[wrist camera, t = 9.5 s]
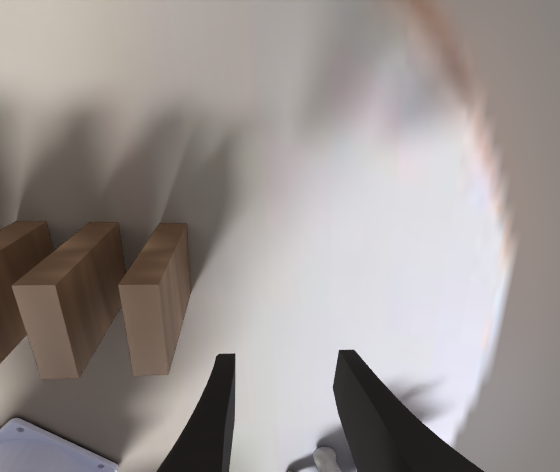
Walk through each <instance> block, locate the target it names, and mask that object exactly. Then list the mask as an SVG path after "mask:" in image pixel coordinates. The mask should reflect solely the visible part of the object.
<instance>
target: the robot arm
mask: <svg viewBox="0 0 560 472" xmlns="http://www.w3.org/2000/svg"><path fill="white" fill-rule="evenodd" d="M333 391H334V396H335V400H336V405H337V409H338V414H339V417H340V420H341V423H342V426H343V429H344V432H345V435H346V438H347V441H348V444H349V447H350V450H351V453H352V456H353V459H354V462H355V465H356V468H357V471H358V472H484V471H483V470H481V469H480V468H478V467H477V466H476V465H474V464H473V463H471V462H470V461H469V460H467V459H466V458H465V457H463V456H462V455H461V454H460V453H458V452H457V451H456V450H454V449H453V448H452V447H450V446H449V445H448V444H447V443H445V442H444V441H443V440H442V439H440V438H439V437H438V436H437V435H436V434H435V433H433V432H432V431H431V430H430V429H429V428H428V427H426V426H425V425H424V424H423V423H422V422H421V421H420V420H419V419H418V418H416V417H415V416H414V415H413V414H412V413H411V412H410V411H409V410H408V409H407V408H406V407H405V406H404V405H403V404H402V403H401V402H400V401H399V400H398V399H397V398H396V397H395V396H394V395H393V393H392V392H391V391H390V390H389V389H388V388H387V387H386V386H385V385H384V384H383V383H382V382H381V380H380V379H379V378H378V377H377V376H376V375H375V374H374V372H373V371H372V370H371V369H370V368H369V367H368V365H367V364H366V363H365V362H364V361H363V360H362V358H361V357H360V356H359V355H358V354H357V353H356V351H355V350H339V354H338V360H337V366H336V372H335V378H334V384H333ZM234 420H235V354H219V355H218V356H216V360H215V364H214V367H213V370H212V373H211V375H210V378H209V380H208V383H207V385H206V387H205V389H204V391H203V394H202V396H201V398H200V400H199V402H198V404H197V406H196V408H195V410H194V412H193V414H192V415H191V417H190V419H189V421H188V423H187V425H186V426H185V428H184V430H183V432H182V433H181V435H180V437H179V438H178V440H177V441H176V443H175V445H174V446H173V448H172V449H171V451H170V452H169V454H168V455H167V457H166V458H165V460H164V461H163V463H162V464H161V466H160V467H159V469H158V470H157V472H229V465H230V456H231V447H232V439H233V430H234ZM118 467H119V466H118V465H117V464H116V463H114V462H111V461H109V460H107V459H105V458H103V457H101V456H99V455H97V454H94V453H92V452H90V451H88V450H86V449H84V448H82V447H80V446H77V445H75V444H73V443H71V442H69V441H67V440H65V439H63V438H60V437H58V436H56V435H54V434H52V433H50V432H48V431H45V430H43V429H41V428H39V427H37V426H35V425H33V424H31V423H28V422H26V421H24V420H22V419H19V418H13V419H11V420H10V421H9V422H8V423H6V424H5V425H4V426H3V427H2V428H1V429H0V472H117V471H118Z"/></svg>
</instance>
